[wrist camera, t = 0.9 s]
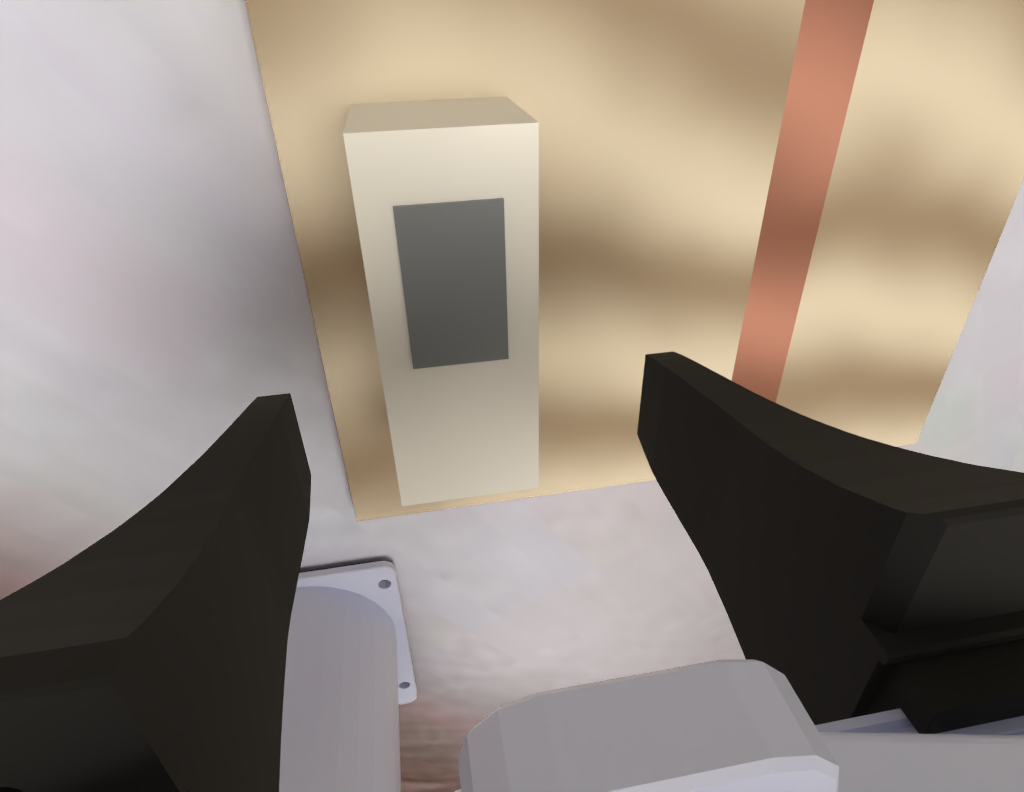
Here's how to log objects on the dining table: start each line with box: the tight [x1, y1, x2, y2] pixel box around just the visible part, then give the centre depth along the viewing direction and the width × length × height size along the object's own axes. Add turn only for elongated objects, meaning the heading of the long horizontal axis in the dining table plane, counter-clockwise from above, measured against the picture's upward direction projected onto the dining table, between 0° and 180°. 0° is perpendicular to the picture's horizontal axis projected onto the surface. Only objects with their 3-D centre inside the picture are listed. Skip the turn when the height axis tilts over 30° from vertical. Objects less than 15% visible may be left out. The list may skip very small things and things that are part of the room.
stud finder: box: [343, 96, 539, 506], centre depth 17 cm, size 10×4×4 cm, turn 1°
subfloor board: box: [245, 0, 1024, 521], centre depth 20 cm, size 18×23×1 cm
